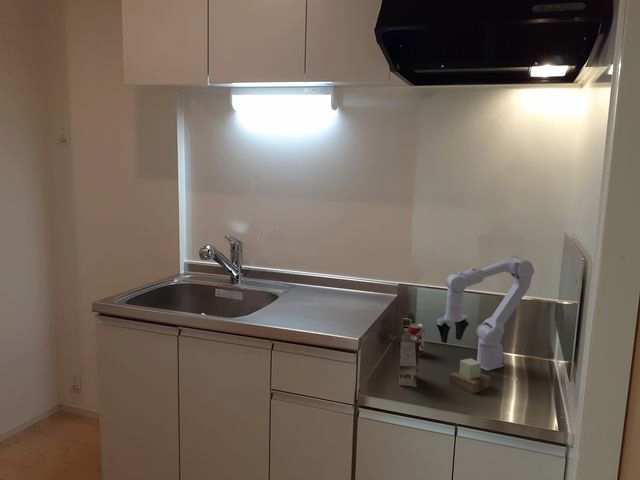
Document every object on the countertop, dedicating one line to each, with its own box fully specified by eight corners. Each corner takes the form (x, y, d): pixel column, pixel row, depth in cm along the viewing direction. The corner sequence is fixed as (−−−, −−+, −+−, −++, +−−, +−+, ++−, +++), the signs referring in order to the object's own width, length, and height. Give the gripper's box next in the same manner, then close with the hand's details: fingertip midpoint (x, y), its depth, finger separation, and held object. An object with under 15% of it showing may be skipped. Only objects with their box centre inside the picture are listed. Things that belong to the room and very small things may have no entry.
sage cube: (470, 371, 189) (471, 358, 189) (480, 376, 185) (481, 363, 184) (459, 373, 187) (460, 360, 186) (469, 379, 183) (470, 365, 182)
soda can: (406, 356, 212) (408, 327, 211) (406, 350, 219) (408, 322, 217) (423, 357, 211) (425, 328, 209) (423, 351, 218) (424, 323, 216)
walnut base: (467, 377, 193) (467, 367, 193) (490, 387, 186) (491, 377, 185) (449, 384, 188) (449, 373, 187) (472, 394, 180) (473, 383, 179)
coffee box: (417, 387, 184) (419, 342, 181) (398, 385, 185) (400, 341, 183) (417, 376, 193) (419, 334, 190) (399, 374, 194) (401, 332, 191)
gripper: (459, 301, 206) (457, 334, 208) (432, 305, 198) (429, 340, 200) (473, 306, 200) (470, 340, 202) (445, 310, 192) (443, 346, 194)
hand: (451, 340), depth 201 cm, fingers open, 7 cm apart
